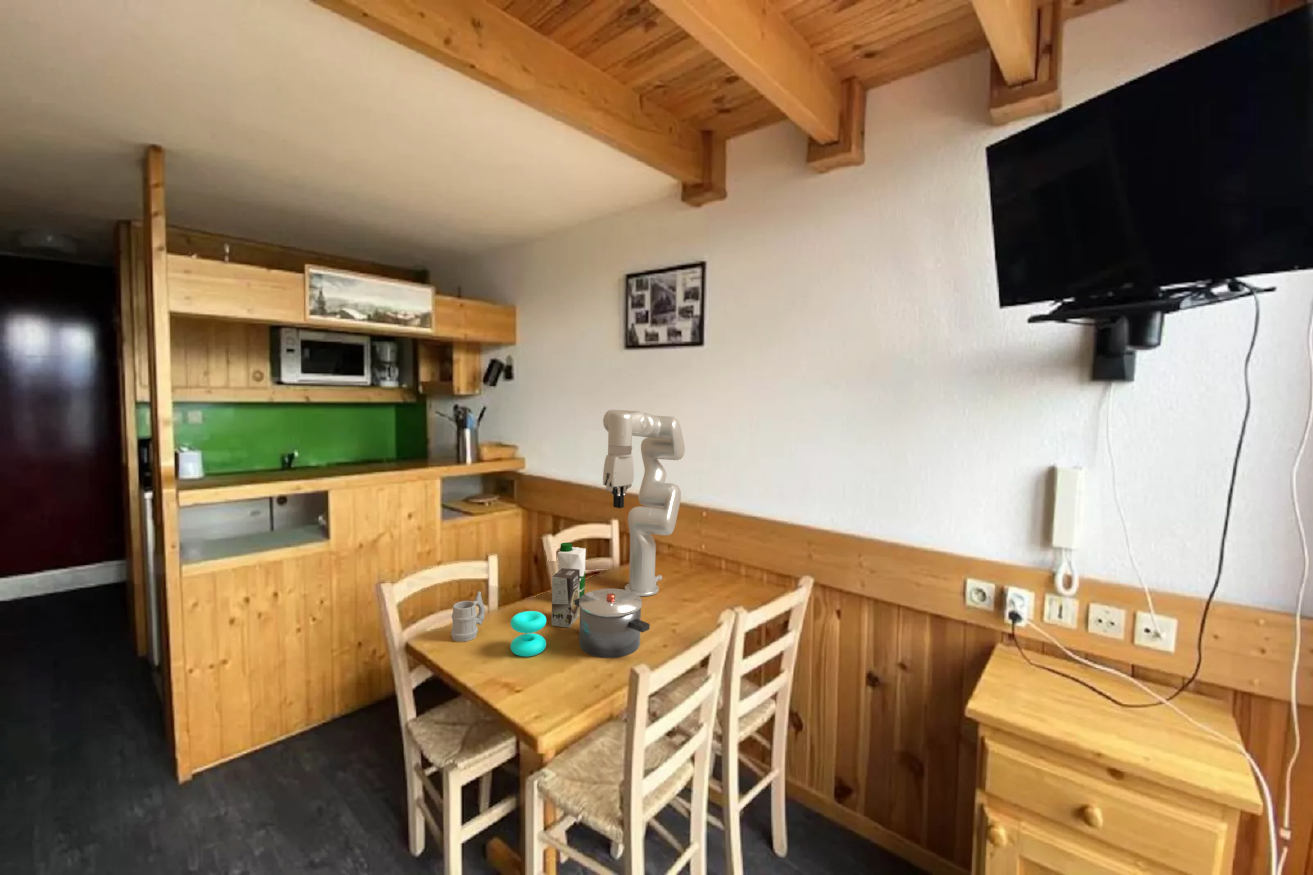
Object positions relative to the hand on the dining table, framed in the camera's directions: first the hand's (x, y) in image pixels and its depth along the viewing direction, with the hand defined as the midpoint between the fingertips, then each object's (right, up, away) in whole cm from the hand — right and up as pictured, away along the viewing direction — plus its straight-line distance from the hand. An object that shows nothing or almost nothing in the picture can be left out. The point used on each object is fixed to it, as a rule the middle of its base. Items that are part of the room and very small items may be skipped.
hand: (618, 507), depth 180 cm
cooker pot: (-2, -39, -14) cm, 41 cm away
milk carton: (-18, -35, +18) cm, 43 cm away
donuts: (-25, -39, -19) cm, 50 cm away
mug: (-45, -37, -11) cm, 59 cm away
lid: (-1, -27, -15) cm, 31 cm away
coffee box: (-17, -37, 0) cm, 41 cm away
